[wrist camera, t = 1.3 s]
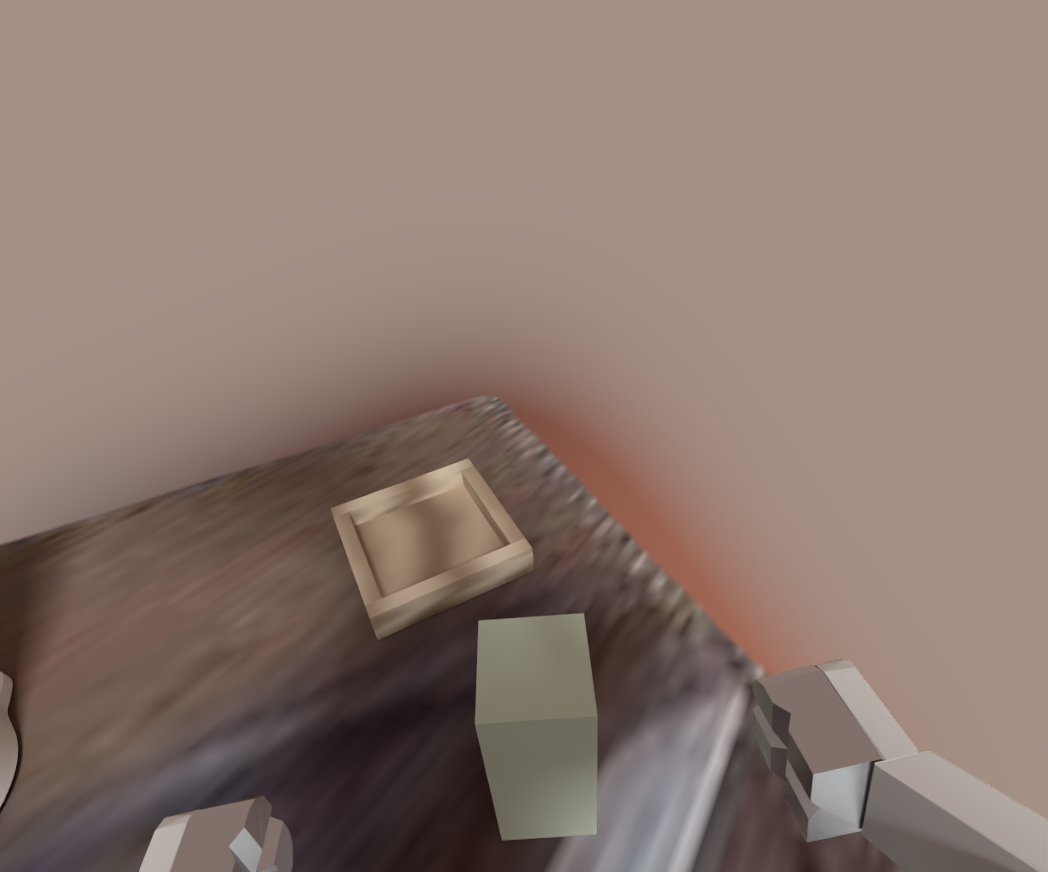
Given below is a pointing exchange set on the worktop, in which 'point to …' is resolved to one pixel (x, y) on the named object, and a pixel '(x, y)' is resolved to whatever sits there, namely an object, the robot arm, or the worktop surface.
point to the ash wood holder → (429, 545)
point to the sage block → (538, 725)
